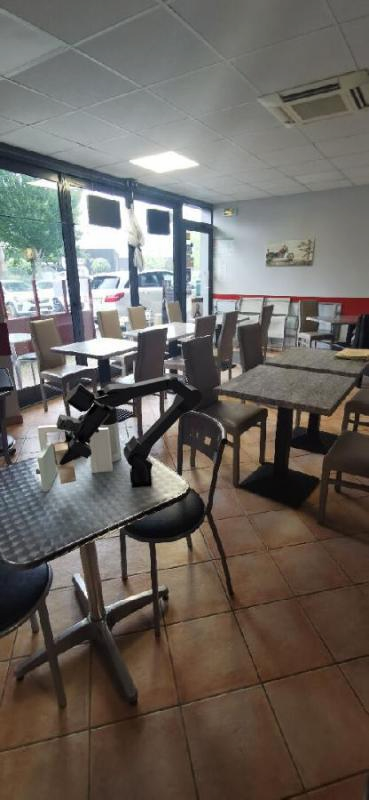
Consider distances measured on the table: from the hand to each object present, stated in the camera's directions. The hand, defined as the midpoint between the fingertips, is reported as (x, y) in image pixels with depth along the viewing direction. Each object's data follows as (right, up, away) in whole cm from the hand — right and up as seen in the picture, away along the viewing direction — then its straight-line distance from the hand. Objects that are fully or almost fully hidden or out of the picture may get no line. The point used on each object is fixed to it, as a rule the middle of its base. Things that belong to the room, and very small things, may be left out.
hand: (60, 460), depth 120 cm
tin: (-6, -5, +30) cm, 31 cm away
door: (-8, -9, +14) cm, 19 cm away
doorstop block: (+2, -6, +3) cm, 7 cm away
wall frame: (0, -7, +21) cm, 22 cm away
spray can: (+10, -4, +30) cm, 32 cm away
